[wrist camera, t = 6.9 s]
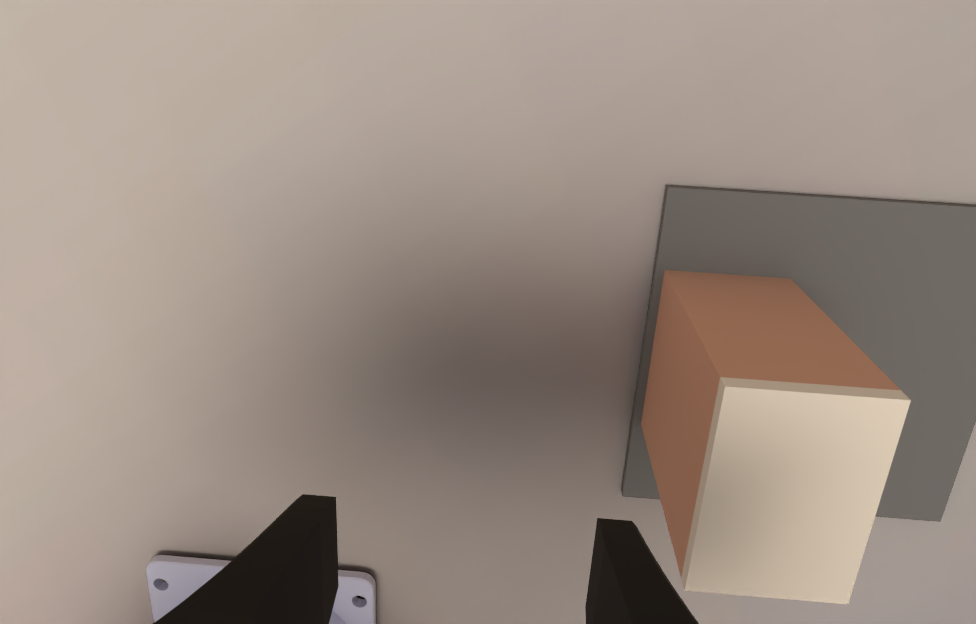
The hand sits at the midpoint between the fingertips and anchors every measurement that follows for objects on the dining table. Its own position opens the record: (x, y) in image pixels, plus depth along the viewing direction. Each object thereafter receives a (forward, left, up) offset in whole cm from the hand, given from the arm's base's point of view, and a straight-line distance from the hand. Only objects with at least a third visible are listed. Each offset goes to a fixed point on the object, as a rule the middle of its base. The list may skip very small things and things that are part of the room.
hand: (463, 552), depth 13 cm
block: (0, -7, -9) cm, 11 cm away
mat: (0, -10, -9) cm, 13 cm away
